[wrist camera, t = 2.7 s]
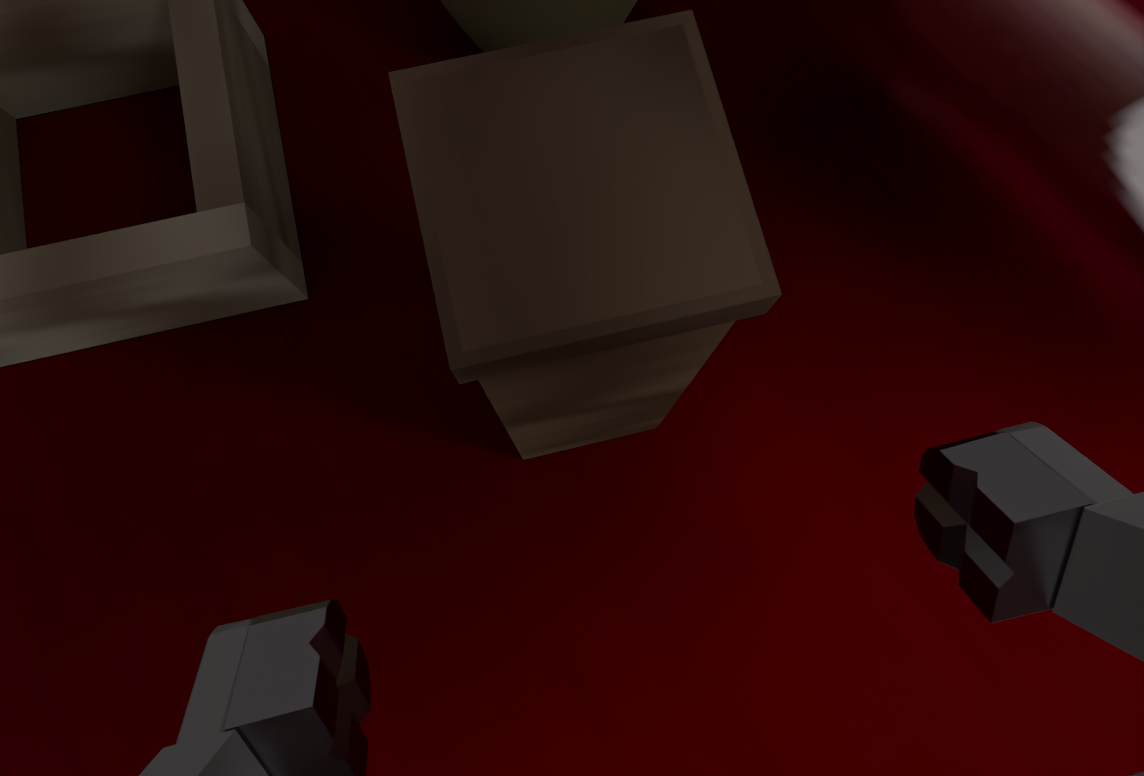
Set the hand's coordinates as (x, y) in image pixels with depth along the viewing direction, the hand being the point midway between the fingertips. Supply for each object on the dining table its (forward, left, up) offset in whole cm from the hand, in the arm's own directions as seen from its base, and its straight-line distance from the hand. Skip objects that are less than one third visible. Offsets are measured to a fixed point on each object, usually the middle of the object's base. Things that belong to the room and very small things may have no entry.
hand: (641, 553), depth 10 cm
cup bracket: (+12, -14, -11) cm, 21 cm away
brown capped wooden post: (0, -5, -11) cm, 12 cm away
